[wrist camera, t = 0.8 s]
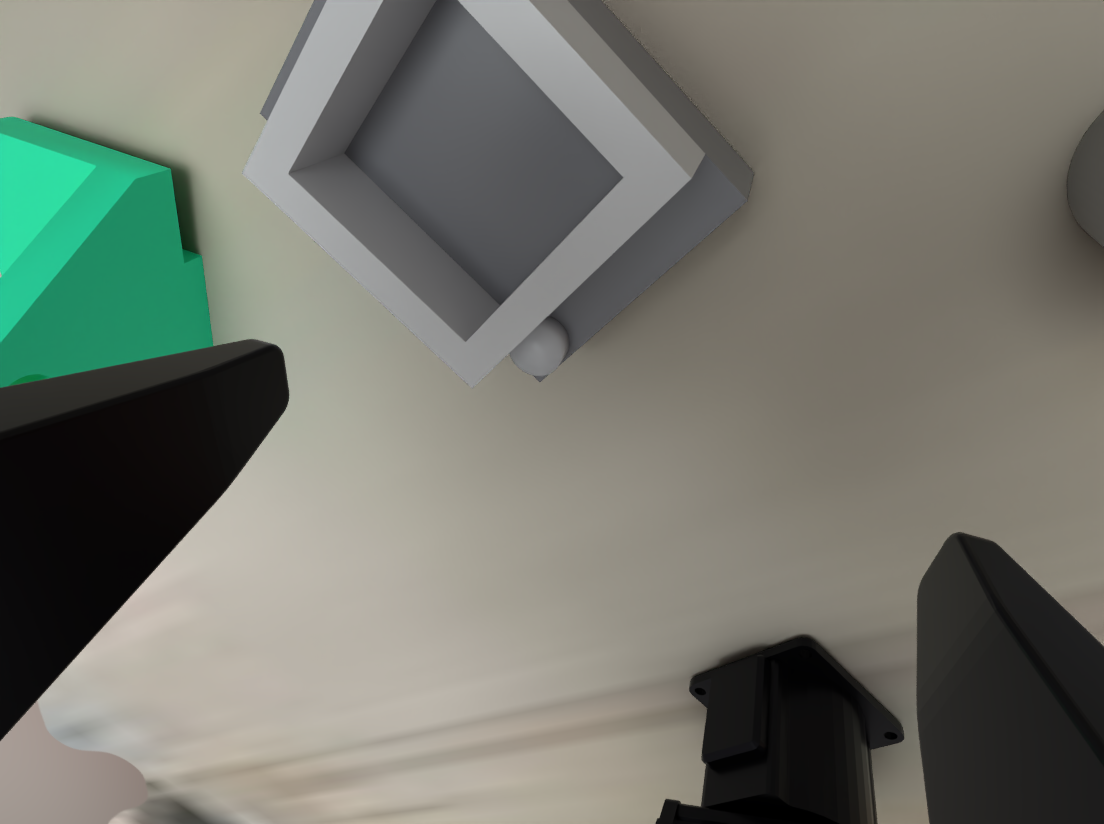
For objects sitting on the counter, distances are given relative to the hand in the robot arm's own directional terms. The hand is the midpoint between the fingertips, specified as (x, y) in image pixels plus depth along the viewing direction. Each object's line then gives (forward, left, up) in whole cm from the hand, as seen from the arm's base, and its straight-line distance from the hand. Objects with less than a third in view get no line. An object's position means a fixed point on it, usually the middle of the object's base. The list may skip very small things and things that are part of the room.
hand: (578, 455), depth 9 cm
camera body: (+5, +2, -13) cm, 14 cm away
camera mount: (+14, +19, -13) cm, 27 cm away
